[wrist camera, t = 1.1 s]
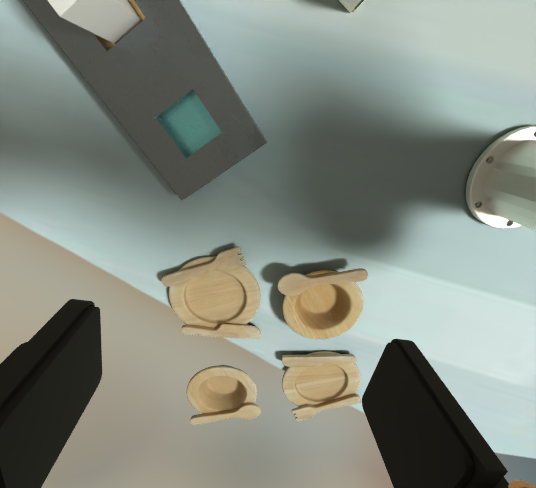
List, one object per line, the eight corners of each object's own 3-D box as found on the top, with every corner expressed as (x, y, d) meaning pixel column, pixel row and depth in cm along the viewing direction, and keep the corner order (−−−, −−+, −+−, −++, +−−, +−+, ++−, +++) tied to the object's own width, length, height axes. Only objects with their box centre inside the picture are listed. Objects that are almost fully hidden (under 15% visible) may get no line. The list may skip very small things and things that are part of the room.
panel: (119, -99, 26) (105, -120, 24) (266, 140, 34) (266, 142, 32) (29, -7, 28) (8, -18, 26) (186, 195, 37) (181, 200, 34)
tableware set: (356, 406, 54) (363, 428, 50) (199, 417, 54) (195, 440, 50) (368, 232, 40) (379, 244, 36) (156, 248, 40) (146, 261, 36)
